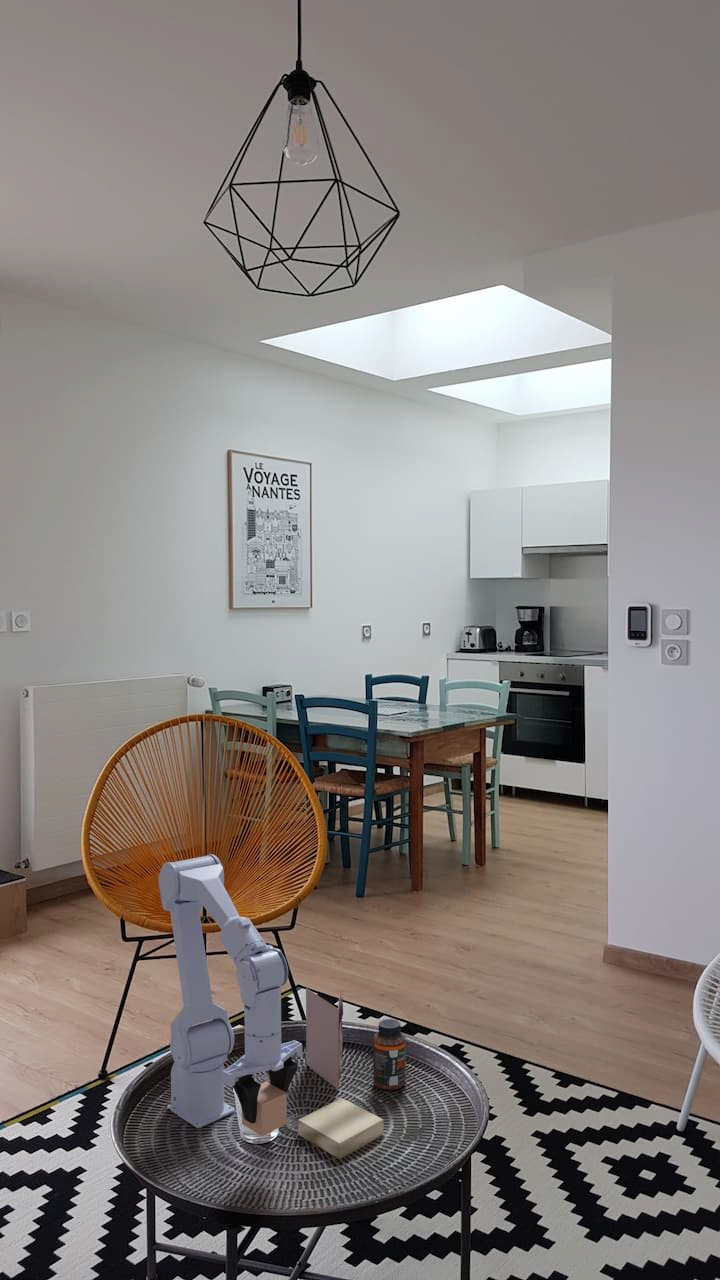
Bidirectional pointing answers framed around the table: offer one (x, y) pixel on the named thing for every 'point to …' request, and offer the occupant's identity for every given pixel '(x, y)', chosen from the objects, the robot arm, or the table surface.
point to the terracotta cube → (269, 1110)
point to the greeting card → (324, 1037)
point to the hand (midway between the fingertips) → (263, 1114)
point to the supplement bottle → (389, 1056)
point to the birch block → (340, 1127)
